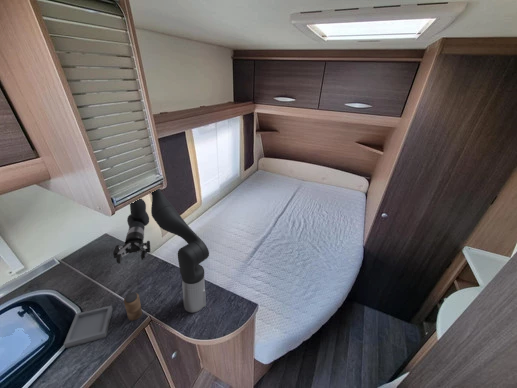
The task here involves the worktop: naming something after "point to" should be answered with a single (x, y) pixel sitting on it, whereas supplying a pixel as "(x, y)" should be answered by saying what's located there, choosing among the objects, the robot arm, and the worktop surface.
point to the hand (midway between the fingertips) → (130, 260)
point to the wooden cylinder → (133, 306)
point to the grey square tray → (89, 326)
